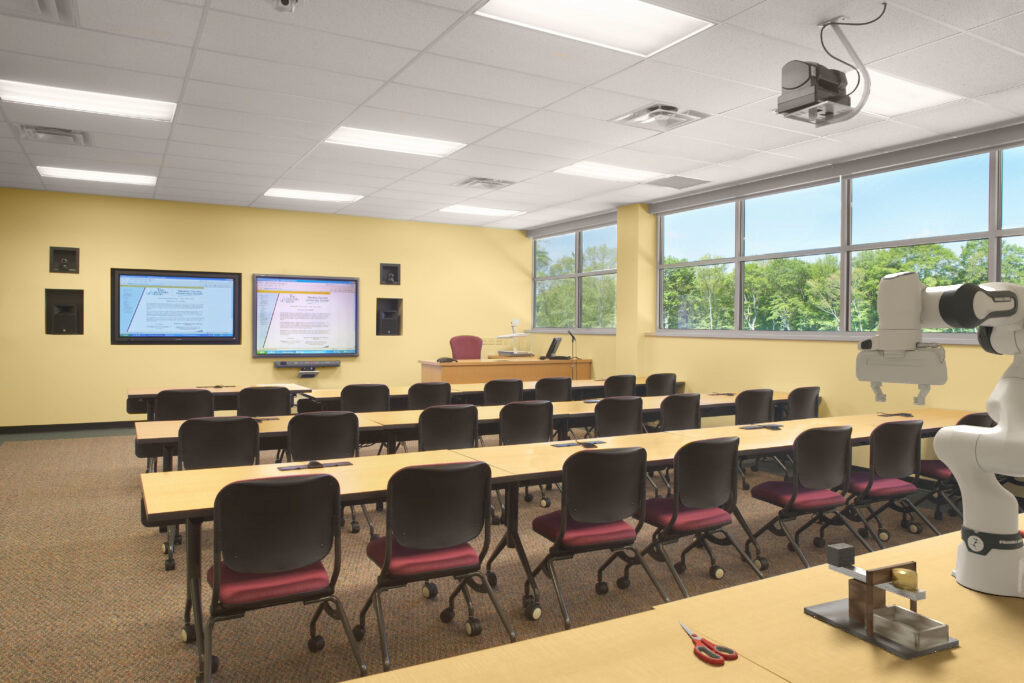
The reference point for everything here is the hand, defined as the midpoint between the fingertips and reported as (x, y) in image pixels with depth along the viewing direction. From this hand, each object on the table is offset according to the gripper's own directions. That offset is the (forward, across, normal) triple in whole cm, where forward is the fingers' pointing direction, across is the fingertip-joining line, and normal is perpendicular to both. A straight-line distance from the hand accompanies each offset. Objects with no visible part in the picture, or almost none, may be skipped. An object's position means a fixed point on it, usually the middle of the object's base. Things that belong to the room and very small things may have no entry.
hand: (899, 403), depth 150 cm
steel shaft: (+37, -5, +15) cm, 40 cm away
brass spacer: (+36, -12, +15) cm, 40 cm away
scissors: (+48, +5, +54) cm, 72 cm away
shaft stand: (+46, -5, +15) cm, 49 cm away
